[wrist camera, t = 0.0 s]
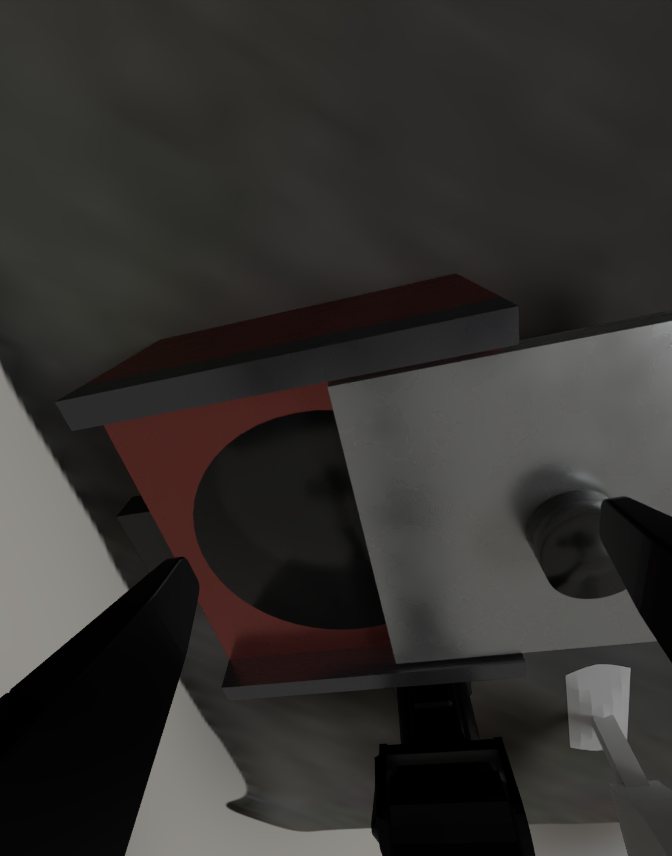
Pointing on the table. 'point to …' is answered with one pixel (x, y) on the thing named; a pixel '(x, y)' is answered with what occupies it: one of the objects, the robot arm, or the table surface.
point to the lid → (509, 487)
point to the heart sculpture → (619, 756)
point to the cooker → (282, 478)
